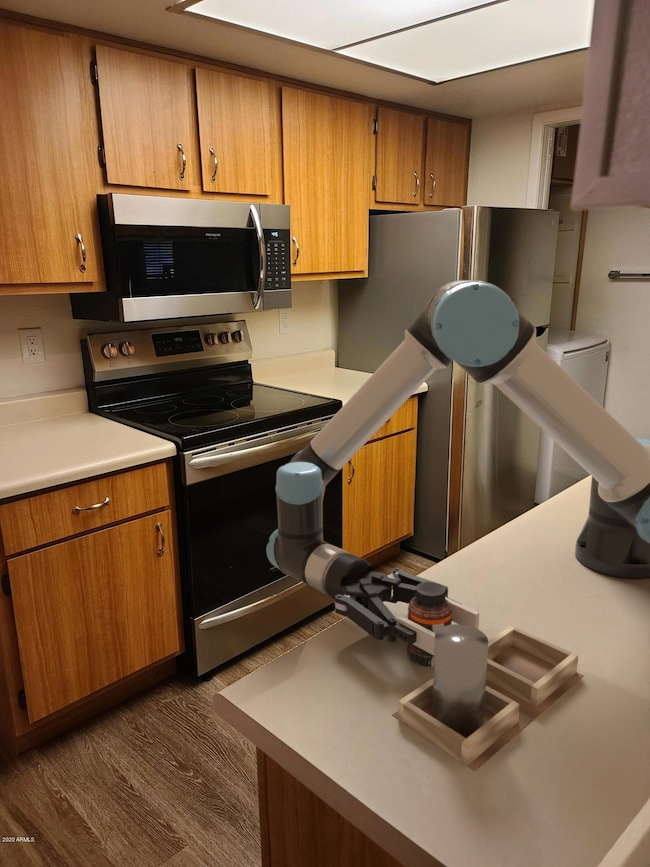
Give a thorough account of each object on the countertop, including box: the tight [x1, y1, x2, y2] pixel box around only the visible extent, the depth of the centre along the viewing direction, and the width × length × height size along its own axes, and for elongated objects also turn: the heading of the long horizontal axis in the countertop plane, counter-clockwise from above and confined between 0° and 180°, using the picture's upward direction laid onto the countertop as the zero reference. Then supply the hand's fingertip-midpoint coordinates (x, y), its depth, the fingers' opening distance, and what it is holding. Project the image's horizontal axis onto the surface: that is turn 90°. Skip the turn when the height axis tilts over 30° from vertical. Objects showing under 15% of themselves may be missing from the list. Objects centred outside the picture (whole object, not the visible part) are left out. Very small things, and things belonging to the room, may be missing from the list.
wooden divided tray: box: [391, 625, 585, 772], centre depth 80 cm, size 24×12×4 cm, turn 132°
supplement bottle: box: [406, 581, 453, 668], centre depth 88 cm, size 6×6×11 cm
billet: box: [432, 623, 489, 738], centre depth 74 cm, size 6×6×11 cm
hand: (458, 634), depth 84 cm, fingers open, 8 cm apart
